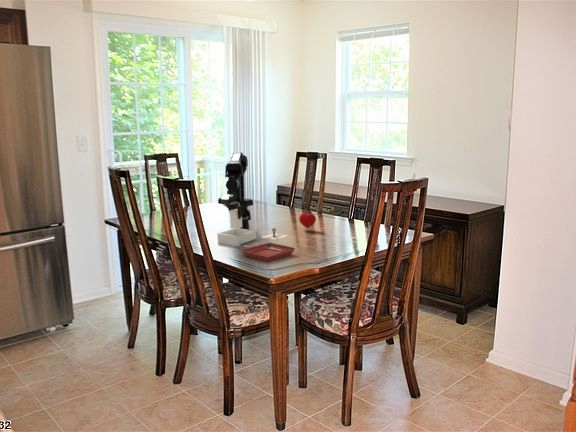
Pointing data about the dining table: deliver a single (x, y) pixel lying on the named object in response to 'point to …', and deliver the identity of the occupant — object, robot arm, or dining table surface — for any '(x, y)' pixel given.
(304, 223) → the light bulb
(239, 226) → the strut
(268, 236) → the stud base
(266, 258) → the plant saucer
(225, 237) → the grey bin
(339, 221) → the dining table surface
